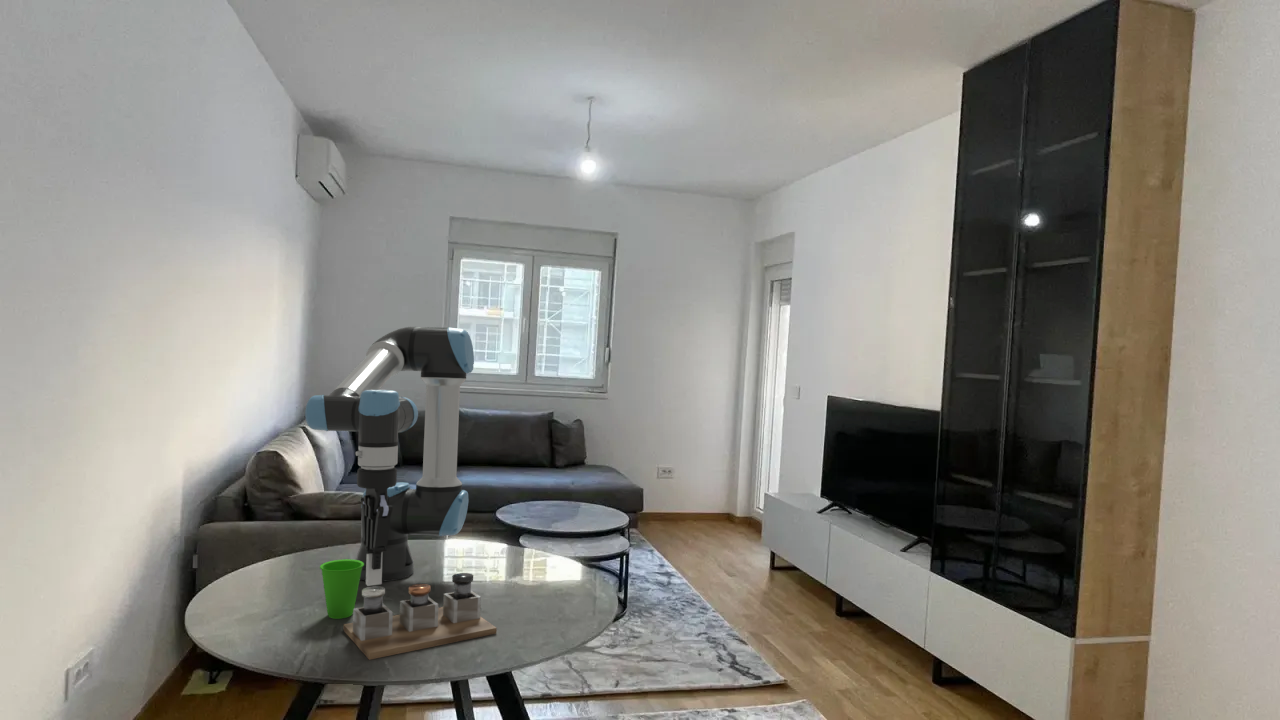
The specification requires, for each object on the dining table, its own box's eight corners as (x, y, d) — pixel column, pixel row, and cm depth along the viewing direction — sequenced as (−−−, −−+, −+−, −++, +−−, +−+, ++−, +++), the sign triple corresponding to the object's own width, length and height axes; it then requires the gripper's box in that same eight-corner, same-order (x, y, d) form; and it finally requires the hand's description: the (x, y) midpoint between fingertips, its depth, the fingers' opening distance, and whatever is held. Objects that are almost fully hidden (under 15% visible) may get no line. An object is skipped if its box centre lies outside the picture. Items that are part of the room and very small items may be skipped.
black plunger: (448, 597, 163) (449, 574, 163) (467, 594, 166) (468, 572, 166) (456, 603, 160) (457, 580, 160) (475, 600, 162) (476, 577, 162)
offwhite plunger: (358, 613, 152) (359, 588, 152) (380, 609, 155) (381, 585, 155) (364, 619, 148) (365, 594, 148) (387, 615, 151) (388, 590, 151)
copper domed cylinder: (404, 609, 158) (405, 585, 158) (425, 606, 160) (426, 582, 160) (412, 615, 154) (412, 591, 154) (433, 612, 157) (433, 588, 157)
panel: (343, 630, 156) (344, 602, 156) (462, 608, 171) (462, 583, 171) (369, 659, 141) (370, 628, 141) (496, 633, 157) (497, 605, 157)
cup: (371, 611, 168) (372, 562, 168) (342, 624, 159) (344, 572, 159) (338, 605, 171) (339, 557, 171) (308, 618, 162) (310, 567, 162)
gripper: (349, 463, 155) (345, 578, 155) (368, 472, 144) (364, 595, 144) (385, 461, 159) (382, 573, 159) (406, 470, 148) (403, 589, 148)
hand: (373, 583), depth 151 cm, fingers closed
